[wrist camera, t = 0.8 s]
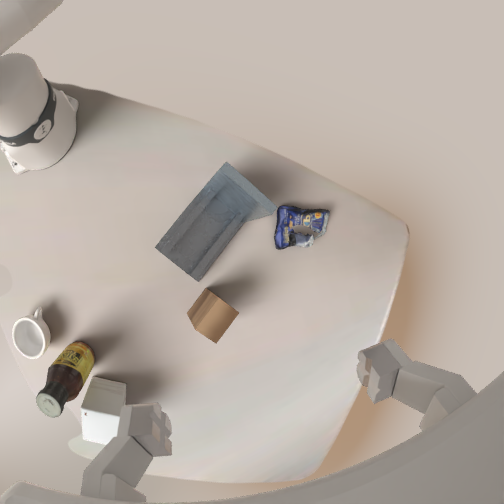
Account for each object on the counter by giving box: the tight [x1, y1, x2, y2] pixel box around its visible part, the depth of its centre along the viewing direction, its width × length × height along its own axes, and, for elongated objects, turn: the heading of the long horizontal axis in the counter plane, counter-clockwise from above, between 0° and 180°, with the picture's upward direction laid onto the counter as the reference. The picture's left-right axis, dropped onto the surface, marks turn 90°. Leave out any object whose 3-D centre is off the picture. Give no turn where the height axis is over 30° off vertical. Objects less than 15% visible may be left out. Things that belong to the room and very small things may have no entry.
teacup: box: [12, 307, 51, 359], centre depth 38 cm, size 10×8×5 cm
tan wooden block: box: [187, 288, 239, 343], centre depth 47 cm, size 4×6×11 cm, turn 142°
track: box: [155, 162, 277, 282], centre depth 45 cm, size 10×16×14 cm, turn 142°
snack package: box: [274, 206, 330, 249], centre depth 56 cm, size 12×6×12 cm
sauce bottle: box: [36, 342, 95, 418], centre depth 34 cm, size 6×6×20 cm
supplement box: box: [81, 376, 126, 445], centre depth 39 cm, size 7×7×13 cm
